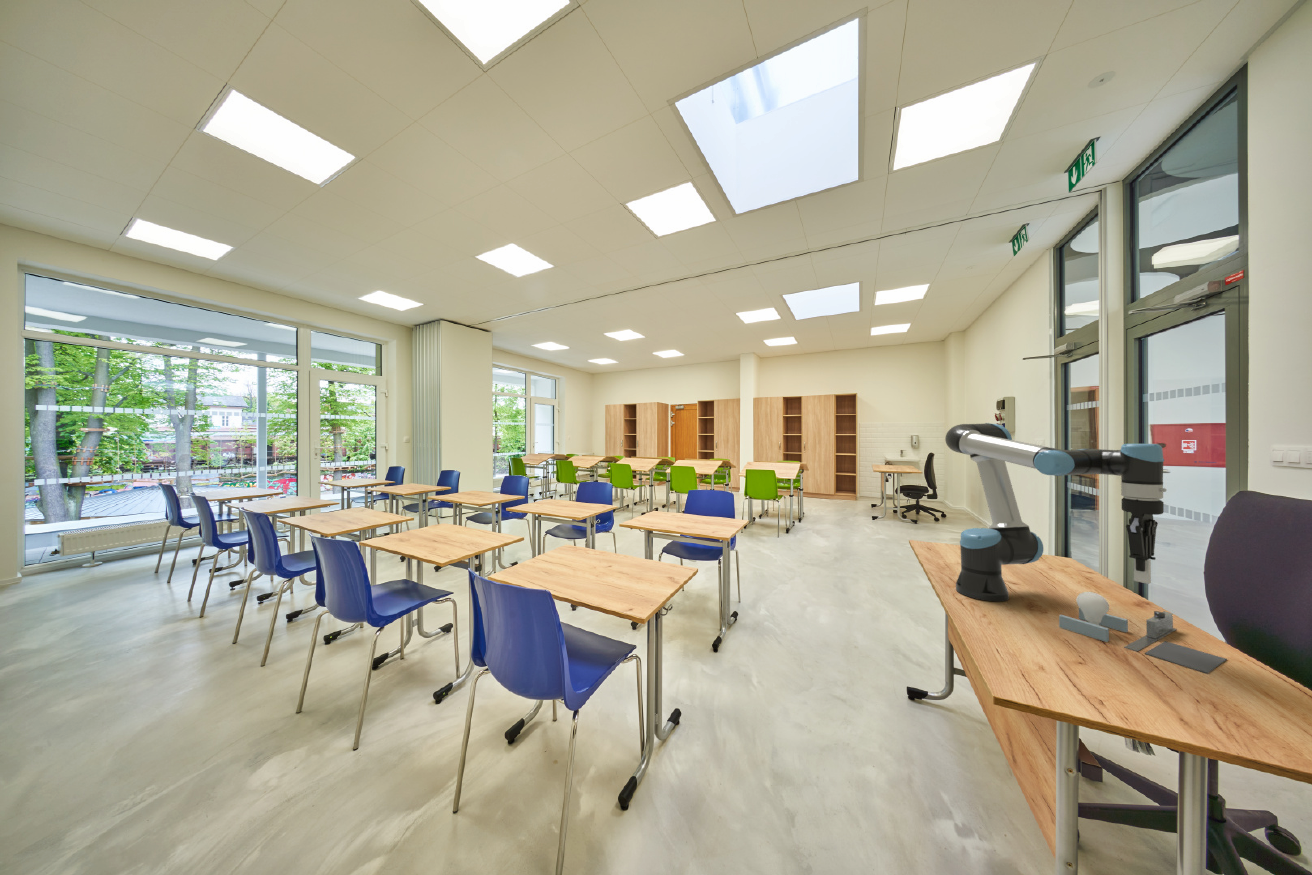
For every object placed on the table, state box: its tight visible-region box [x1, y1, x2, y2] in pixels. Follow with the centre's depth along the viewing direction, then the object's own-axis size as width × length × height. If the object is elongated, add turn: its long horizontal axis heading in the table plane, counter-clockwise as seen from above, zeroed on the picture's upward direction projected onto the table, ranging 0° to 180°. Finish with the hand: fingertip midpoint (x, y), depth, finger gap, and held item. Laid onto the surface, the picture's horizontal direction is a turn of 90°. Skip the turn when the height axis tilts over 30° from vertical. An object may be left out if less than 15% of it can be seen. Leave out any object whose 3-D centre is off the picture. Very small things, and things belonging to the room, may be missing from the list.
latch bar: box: [1145, 610, 1174, 639], centre depth 116 cm, size 2×13×6 cm, turn 114°
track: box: [1123, 627, 1178, 653], centre depth 114 cm, size 2×28×1 cm, turn 114°
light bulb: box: [1076, 591, 1110, 626], centre depth 119 cm, size 7×7×11 cm
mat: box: [1144, 641, 1228, 675], centre depth 104 cm, size 10×14×1 cm
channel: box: [1058, 607, 1129, 643], centre depth 119 cm, size 10×14×4 cm
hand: (1142, 581), depth 112 cm, fingers closed
